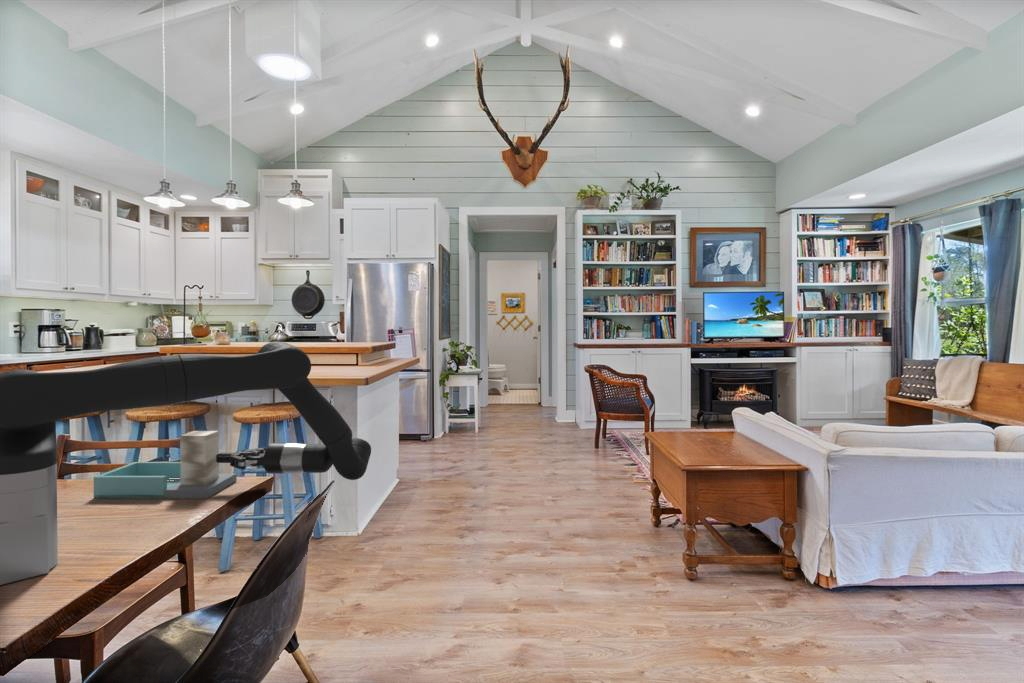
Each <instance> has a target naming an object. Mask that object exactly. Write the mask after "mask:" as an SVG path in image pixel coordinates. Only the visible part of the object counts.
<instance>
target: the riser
mask: <svg viewBox="0 0 1024 683" xmlns="http://www.w3.org/2000/svg"><path fill="white" fill-rule="evenodd" d="M237 476H238V475H237V473H233V472H232V473H231V472H230V473H224V472H223V473H219V478H217V479H216V480H214V481H212V482H210V483H208V484H206V485H181V484H180V482H179V483H177V484H175V485H173V486H171V487H169V488H167V489H165V490H164V498H163V499H208V498H210V497H212V496H213V495H216V494H217V493H219V492H221V491H222V490H224V489H225V488H228V487H229V486H230V485H232V484H234V483H236V482H237V480H238V479H237Z"/></svg>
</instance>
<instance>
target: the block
mask: <svg viewBox="0 0 1024 683" xmlns="http://www.w3.org/2000/svg"><path fill="white" fill-rule="evenodd" d="M219 433H220V431H219V430H194V431H190V432H187V433H185V434H182V435H180V437H179V438H180V441H179V443H180V444H179V445H180V448H179V449H180V450H179V451H180V454H179V455H180V457H179V459H180V461H179V462H180V484H181V485H206V484H208V483H210V482H212V481H214V480H216V479H217V478H219V472H220V471H219V470H220V469H219V468H220V467H219V466H220V463H217V462H216V455H217V454H219V453H220V447H219V445H220V443H219V442H220V438H219V437H220V436H219V435H220V434H219Z"/></svg>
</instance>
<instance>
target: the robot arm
mask: <svg viewBox="0 0 1024 683" xmlns="http://www.w3.org/2000/svg"><path fill="white" fill-rule="evenodd" d="M311 371H312V362H311V359H310V356H308V354H306V352H304V351H303V350H302V349H301V348H299V347H296V346H295V345H293V344H290V343H287V342H283V341H271V342H268V343H266V344H264V345H263V346H262V347H260V349H259V350H258V352H257V353H254V354H246V355H224V354H223V355H220V354H209V353H207V354H206V353H205V354H204V353H181V354H170V355H161V356H153V357H146V358H139V359H134V360H129V361H125V362H121V363H117V364H112V365H110V366H109V365H108V366H105V367H100V368H97V369H96V368H95V369H89V370H77V371H76V370H75V371H56V372H53V371H52V372H51V371H50V372H38V371H35V370H32V369H31V370H30V369H25V368H24V369H23V368H22V369H21V368H19V369H10V370H6V371H2V372H0V586H1V585H6V584H9V583H14V582H17V581H22V580H26V579H30V578H34V577H38V576H41V575H45V574H48V573H50V570H51V569H53V568H55V567H56V566H57V565H58V561H59V557H58V556H59V555H58V554H59V551H58V548H59V547H58V544H59V540H58V464H57V462H58V446H57V445H58V444H57V443H58V442H57V421H60V420H64V419H69V418H73V417H77V416H83V415H87V414H93V413H98V412H99V413H100V412H106V411H107V412H108V411H121V410H133V409H140V408H141V409H143V408H149V407H151V408H152V407H161V406H168V405H173V404H180V403H186V402H190V401H196V400H200V399H208V398H214V397H218V396H223V395H230V394H234V393H239V392H246V391H257V390H258V391H259V390H274V389H276V390H278V391H279V392H280V393H282V394H283V396H284V397H285V398H286V399H287V400H288V401H289V402H290V403H291V404H292V406H293V407H294V408H295V409H296V411H298V413H299V414H300V415H301V417H302V418H303V419H304V420H305V422H306V423H307V424H308V426H309V427H310V428H311V430H312V431H313V432H314V433H315V435H316V436H317V438H318V439H319V440H320V441H321V444H320V443H318V444H317V443H315V444H314V443H310V444H309V443H303V442H301V443H300V442H270V443H269V444H268V445H267V446H266V447H257V448H250V449H249V448H248V449H242V450H240V451H235V452H219V454H217V455H216V462H217V463H219V464H229V466H230V467H233V468H236V469H239V470H245V469H246V468H247V467H250V468H251V469H256V468H260V467H261V466H263V469H264V472H266V473H267V474H270V475H271V474H287V475H288V474H291V475H292V474H293V475H294V474H296V475H297V474H303V473H304V474H305V473H307V474H308V473H309V474H310V473H311V474H312V473H315V474H316V473H317V474H319V473H320V474H321V473H327V472H328V471H329V470H330V469H331V468H332V467H334V469H335V470H336V472H337V473H338V474H339V475H340V476H341V477H343V478H344V479H347V480H349V481H356V480H359V479H361V478H362V477H363V476H364V475H365V473H366V472H367V468H368V464H369V461H370V458H371V454H372V446H371V444H370V443H369V442H368V441H367V440H365V439H362V438H358V437H353V431H352V429H351V427H350V426H349V424H348V423H347V422H346V420H345V419H344V418H343V416H342V415H341V414H340V412H339V411H338V410H337V409H336V407H334V405H333V404H332V403H331V402H329V400H328V399H327V398H326V397H325V396H324V395H323V394H322V393H320V391H319V390H318V389H317V388H316V387H315V385H314V384H313V383H312V382H311V380H309V378H308V377H309V375H310V373H311Z"/></svg>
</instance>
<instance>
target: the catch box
mask: <svg viewBox="0 0 1024 683" xmlns="http://www.w3.org/2000/svg"><path fill="white" fill-rule="evenodd" d="M169 478H180V461H134V462H130V463H128V464H125V465H122V466H120V467H118V468H114V469H112V470H109V471H105V472H103V473H101V474H99V475H98V474H97V475H96V476H93V499H165V498H164V490H165V489H167V488H169V487H171V486H173V485H175V484H177V483H179V482H180V479H169ZM167 480H169V481H167ZM170 480H174V481H170Z"/></svg>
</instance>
